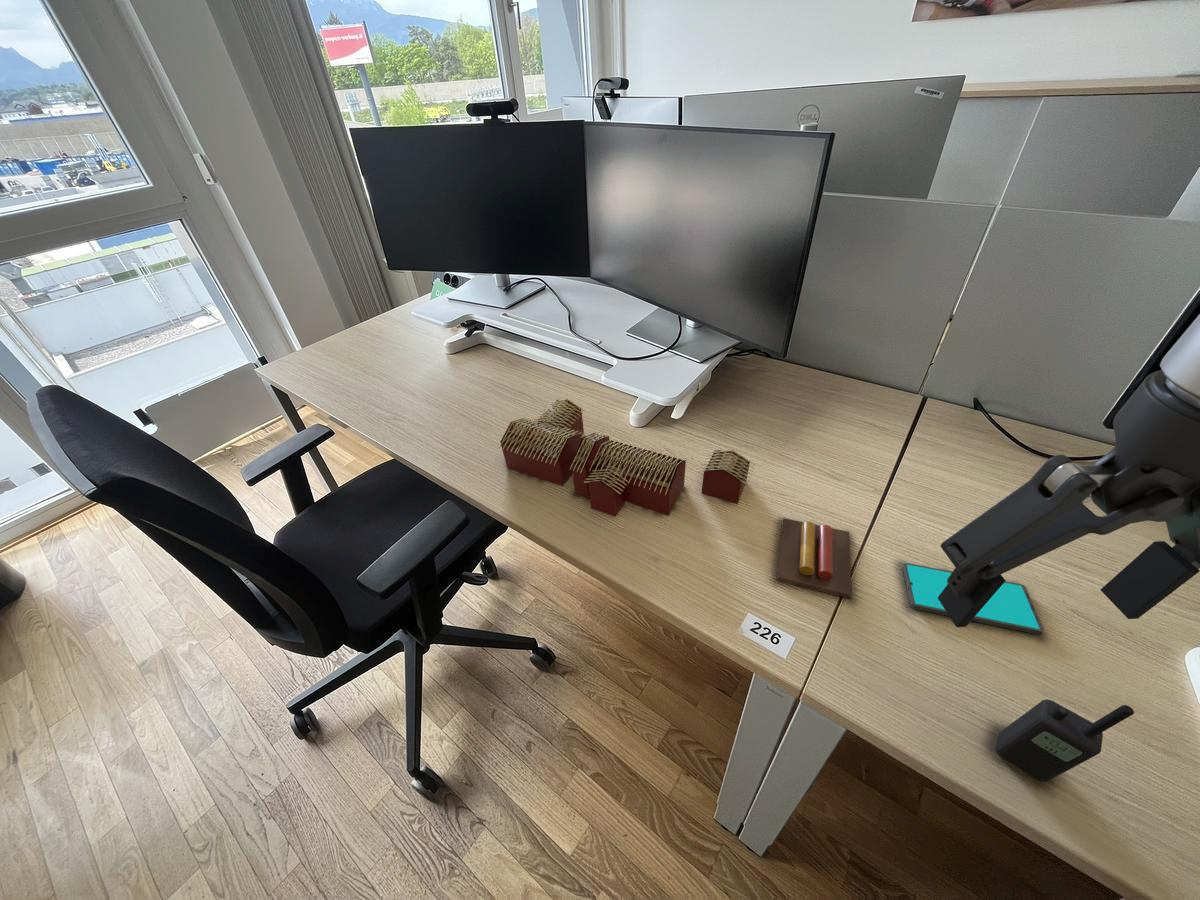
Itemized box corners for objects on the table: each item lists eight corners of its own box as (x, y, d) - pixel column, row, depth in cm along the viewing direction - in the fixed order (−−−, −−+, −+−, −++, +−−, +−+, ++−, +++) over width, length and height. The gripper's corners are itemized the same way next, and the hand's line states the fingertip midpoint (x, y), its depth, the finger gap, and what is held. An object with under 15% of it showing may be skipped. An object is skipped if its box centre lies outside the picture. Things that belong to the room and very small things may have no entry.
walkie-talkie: (993, 752, 51) (1074, 695, 41) (999, 727, 52) (1079, 667, 43) (1048, 787, 48) (1149, 736, 38) (1053, 759, 50) (1151, 703, 40)
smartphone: (1045, 632, 59) (913, 604, 63) (1041, 635, 60) (911, 608, 64) (1024, 584, 65) (903, 561, 69) (1021, 587, 65) (901, 565, 69)
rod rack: (847, 535, 74) (852, 523, 72) (850, 598, 66) (856, 587, 64) (782, 521, 77) (785, 509, 75) (776, 580, 69) (780, 568, 67)
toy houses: (498, 476, 91) (487, 436, 84) (553, 418, 104) (547, 380, 97) (725, 554, 73) (732, 511, 66) (756, 473, 86) (765, 430, 80)
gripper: (1398, 345, 27) (1147, 562, 41) (967, 373, 28) (862, 577, 42) (1614, 421, 21) (1238, 644, 35) (1065, 453, 22) (905, 659, 36)
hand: (1034, 608), depth 38 cm, fingers open, 13 cm apart
